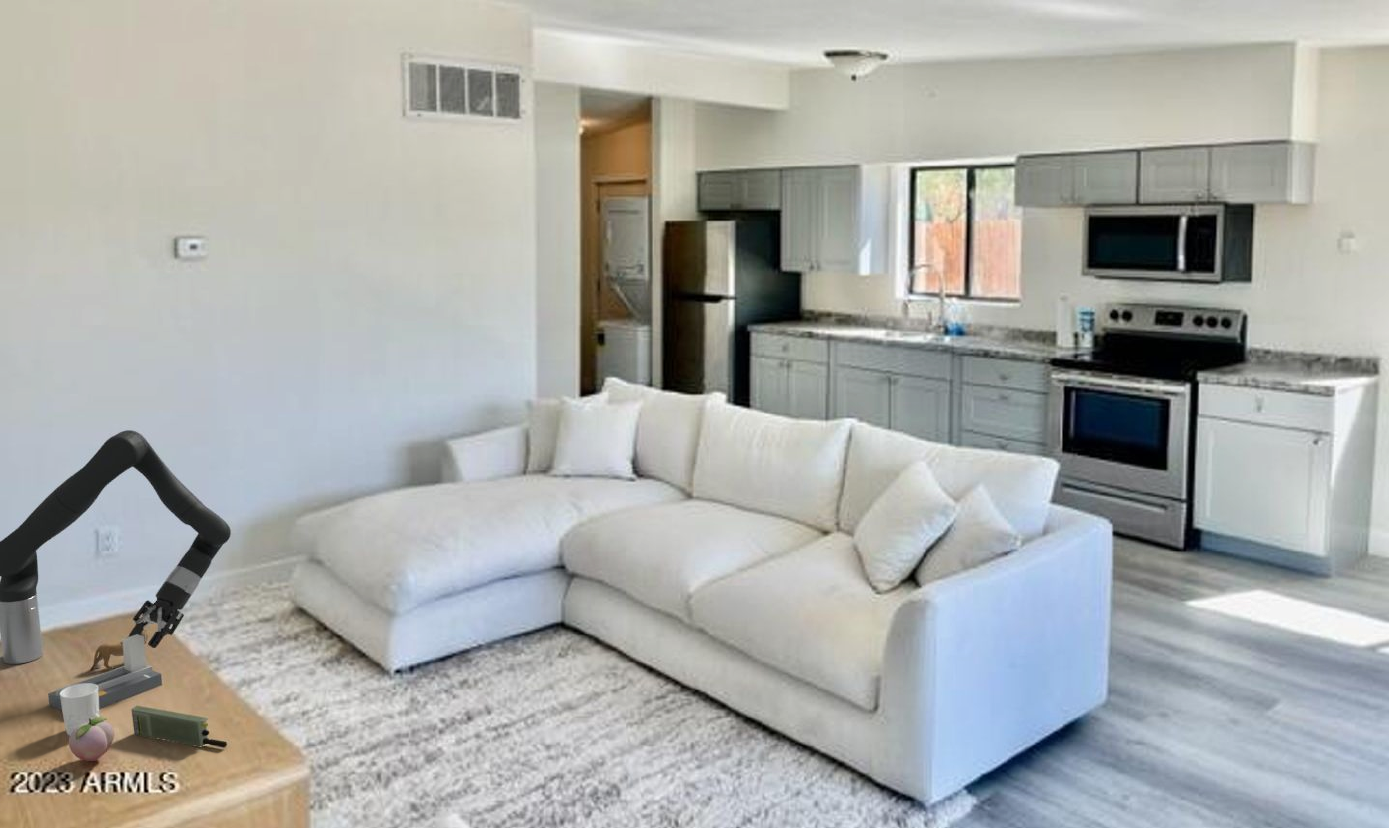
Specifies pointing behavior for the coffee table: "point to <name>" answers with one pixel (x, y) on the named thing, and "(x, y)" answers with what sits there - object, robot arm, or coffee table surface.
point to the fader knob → (134, 653)
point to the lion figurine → (111, 652)
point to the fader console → (115, 685)
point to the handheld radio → (172, 726)
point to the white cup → (79, 704)
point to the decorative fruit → (91, 739)
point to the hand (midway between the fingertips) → (141, 643)
